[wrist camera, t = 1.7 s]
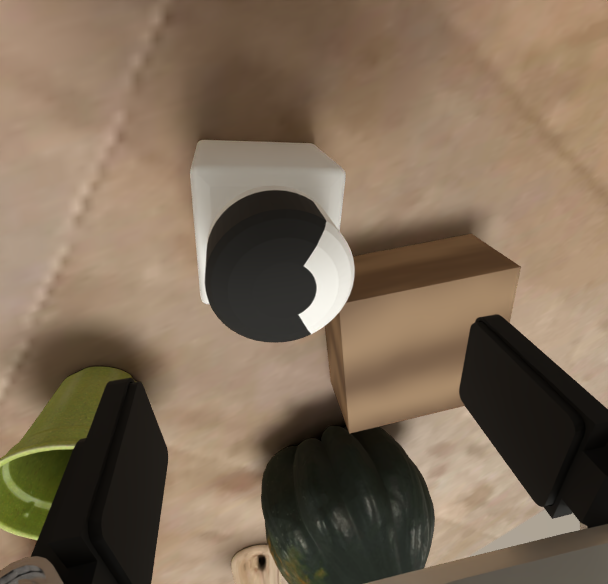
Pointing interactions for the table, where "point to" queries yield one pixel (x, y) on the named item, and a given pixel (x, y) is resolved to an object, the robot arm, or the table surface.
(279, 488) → the squash
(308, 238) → the medicine bottle
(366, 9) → the table surface
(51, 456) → the plant pot
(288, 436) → the table surface
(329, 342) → the walnut block
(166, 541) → the table surface
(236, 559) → the silver metal vase
